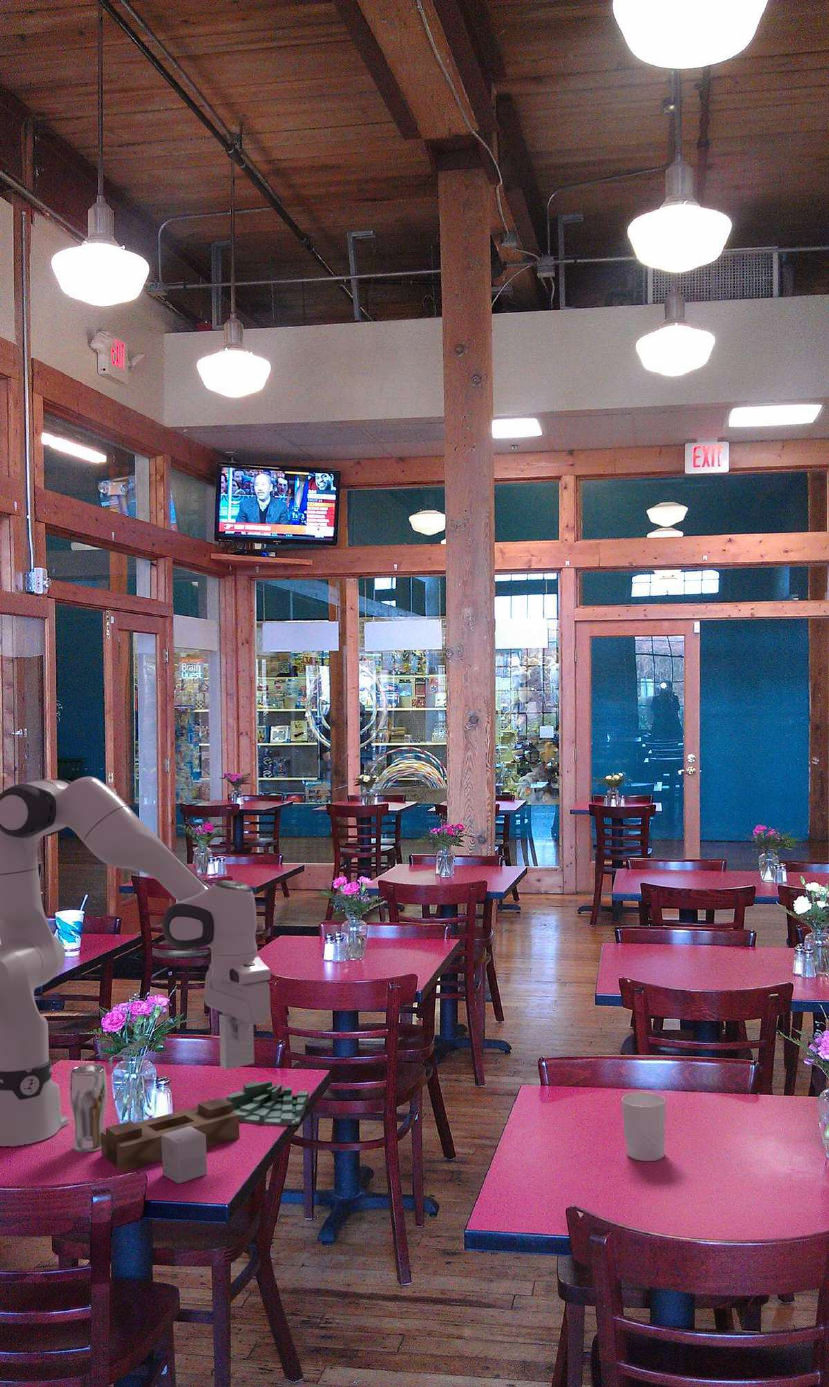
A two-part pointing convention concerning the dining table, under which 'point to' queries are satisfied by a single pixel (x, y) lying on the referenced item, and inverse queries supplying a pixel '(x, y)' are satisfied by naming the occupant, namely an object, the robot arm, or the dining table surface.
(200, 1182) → the dining table surface
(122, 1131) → the wooden display stand
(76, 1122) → the beer glass
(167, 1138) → the product box
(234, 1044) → the bracket
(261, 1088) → the money
